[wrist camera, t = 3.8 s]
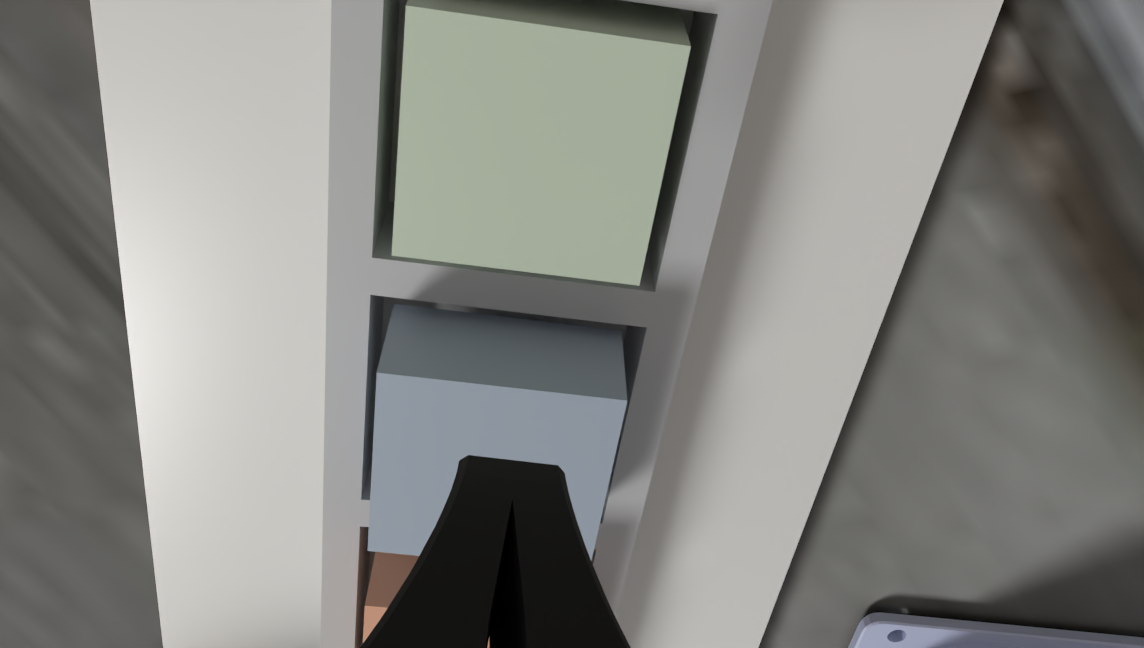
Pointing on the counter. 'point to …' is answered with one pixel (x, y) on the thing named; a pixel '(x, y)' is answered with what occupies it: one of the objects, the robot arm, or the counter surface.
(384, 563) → the key terracotta
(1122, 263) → the counter surface
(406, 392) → the key slate
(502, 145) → the key sage
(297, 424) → the keypad
